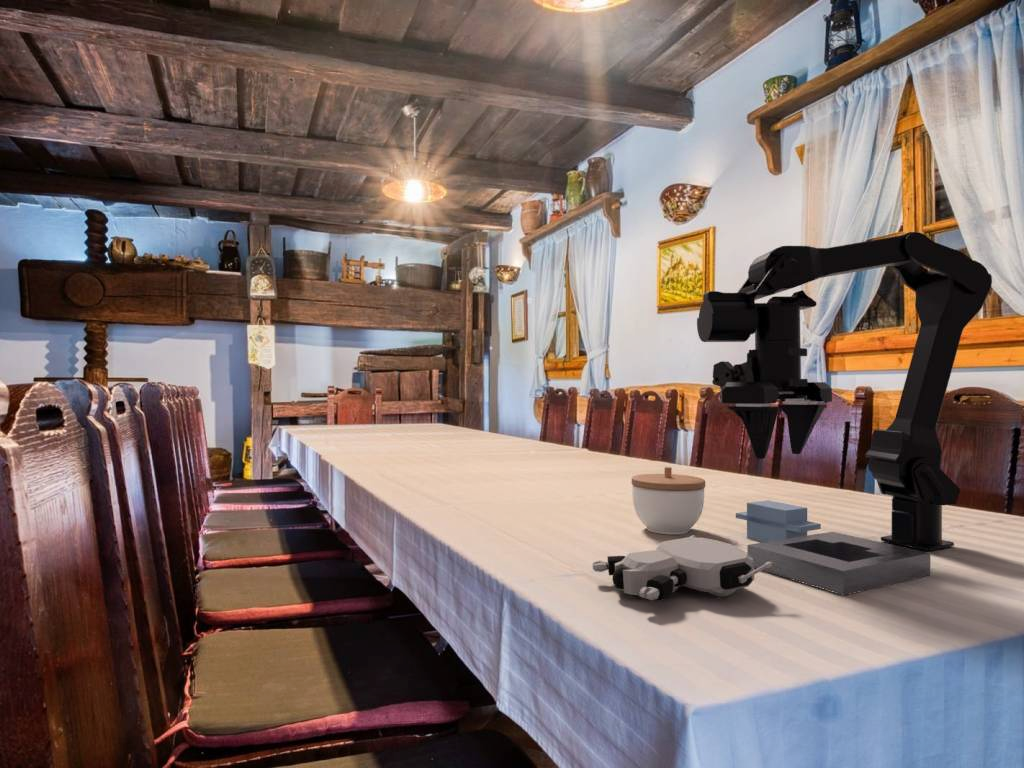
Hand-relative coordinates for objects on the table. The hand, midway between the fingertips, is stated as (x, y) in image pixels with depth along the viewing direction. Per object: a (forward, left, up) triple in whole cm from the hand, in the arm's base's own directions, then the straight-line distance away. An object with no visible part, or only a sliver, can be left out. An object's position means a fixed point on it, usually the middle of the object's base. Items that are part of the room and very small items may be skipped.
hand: (779, 456), depth 84 cm
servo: (-2, -2, -12) cm, 12 cm away
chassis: (+4, +11, -12) cm, 17 cm away
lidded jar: (+7, -14, -12) cm, 20 cm away
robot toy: (+26, +8, -13) cm, 30 cm away
